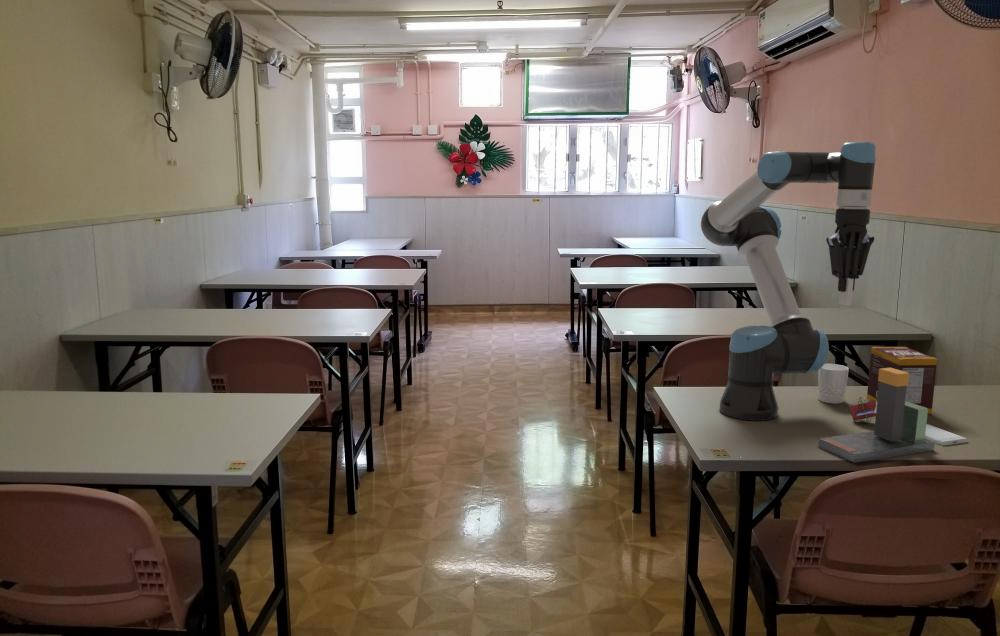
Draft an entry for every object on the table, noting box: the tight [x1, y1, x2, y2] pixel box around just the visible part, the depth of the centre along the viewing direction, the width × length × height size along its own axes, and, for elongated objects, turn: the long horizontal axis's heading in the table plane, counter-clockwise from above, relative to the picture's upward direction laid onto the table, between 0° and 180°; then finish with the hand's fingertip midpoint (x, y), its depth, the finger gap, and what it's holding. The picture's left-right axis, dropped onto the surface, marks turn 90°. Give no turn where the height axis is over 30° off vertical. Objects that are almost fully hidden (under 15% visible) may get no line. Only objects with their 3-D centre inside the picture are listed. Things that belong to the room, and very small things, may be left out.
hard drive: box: [925, 423, 968, 447], centre depth 186 cm, size 2×8×12 cm
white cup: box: [817, 363, 850, 405], centre depth 214 cm, size 8×8×10 cm
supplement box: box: [866, 346, 938, 415], centre depth 209 cm, size 10×15×16 cm
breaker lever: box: [873, 368, 909, 441], centre depth 176 cm, size 3×5×16 cm, turn 20°
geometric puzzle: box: [848, 396, 877, 425], centre depth 195 cm, size 7×7×8 cm
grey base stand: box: [817, 401, 936, 464], centre depth 176 cm, size 24×11×10 cm, turn 110°
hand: (844, 304), depth 184 cm, fingers closed
